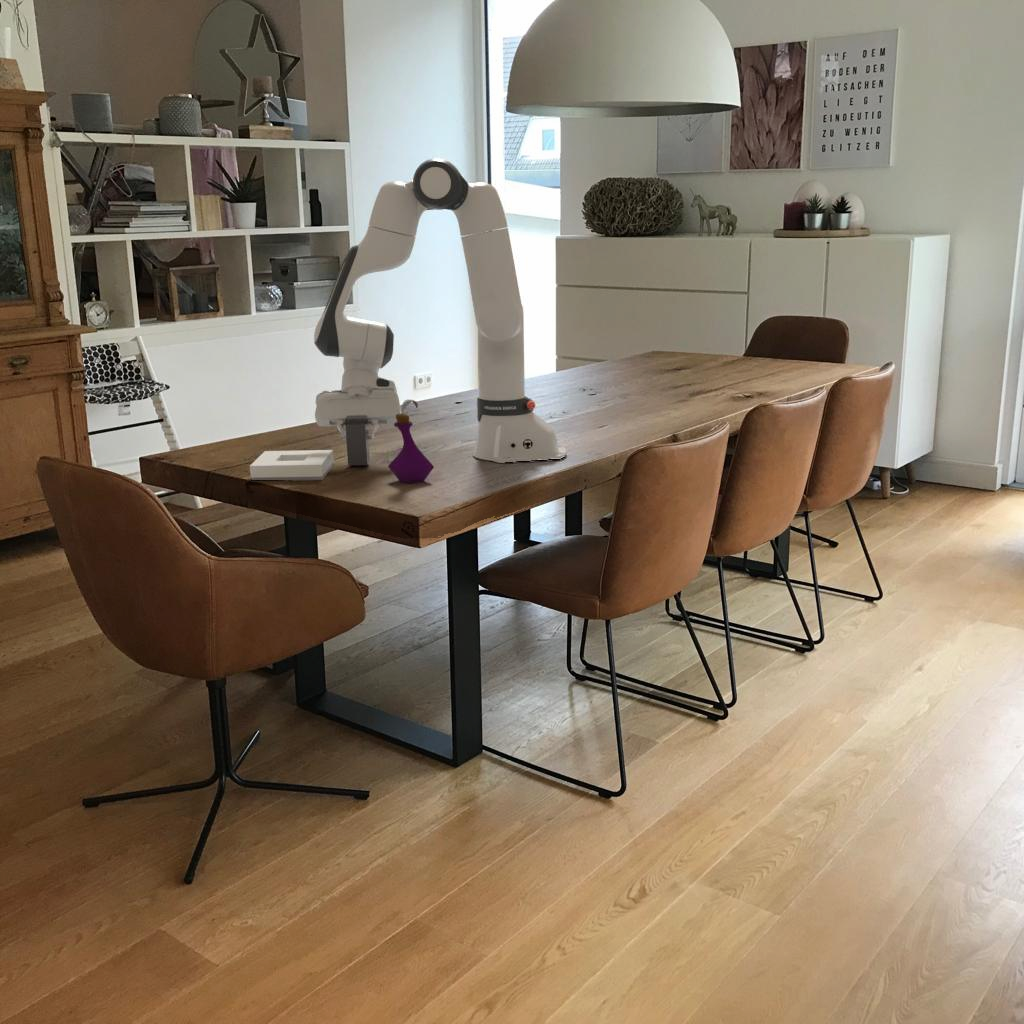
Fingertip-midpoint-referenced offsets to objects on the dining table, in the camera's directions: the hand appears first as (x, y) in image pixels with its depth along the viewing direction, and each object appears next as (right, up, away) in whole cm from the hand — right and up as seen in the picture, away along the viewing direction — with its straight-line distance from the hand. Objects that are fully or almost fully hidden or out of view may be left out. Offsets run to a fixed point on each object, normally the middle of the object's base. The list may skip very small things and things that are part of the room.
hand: (357, 438), depth 265 cm
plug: (0, -6, +2) cm, 6 cm away
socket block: (-14, -8, -3) cm, 17 cm away
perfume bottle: (+14, -10, -13) cm, 22 cm away
